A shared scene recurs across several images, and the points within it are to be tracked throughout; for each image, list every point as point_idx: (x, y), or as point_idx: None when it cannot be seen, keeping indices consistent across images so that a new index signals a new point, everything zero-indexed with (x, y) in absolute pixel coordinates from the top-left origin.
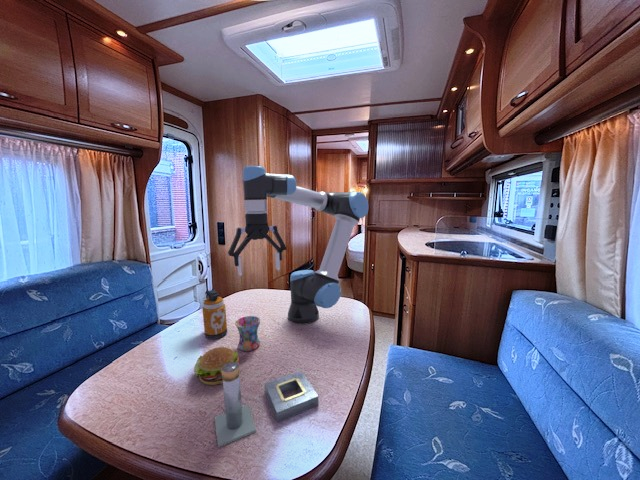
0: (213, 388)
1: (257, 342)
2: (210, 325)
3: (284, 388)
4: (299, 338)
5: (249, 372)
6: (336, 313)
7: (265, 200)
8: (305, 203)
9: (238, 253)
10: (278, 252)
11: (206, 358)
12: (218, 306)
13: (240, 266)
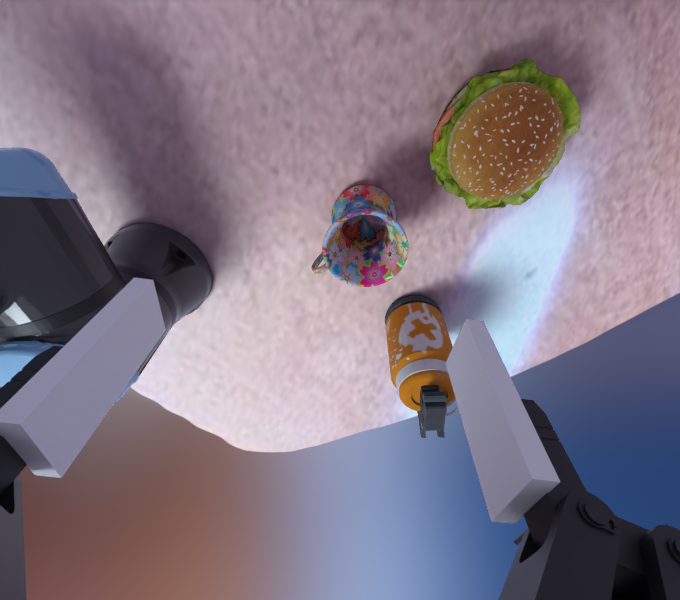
0: None
1: (345, 198)
2: (440, 325)
3: None
4: (212, 160)
5: (418, 77)
6: None
7: None
8: None
9: (579, 543)
10: (2, 434)
11: (549, 141)
12: (422, 362)
13: (498, 382)
